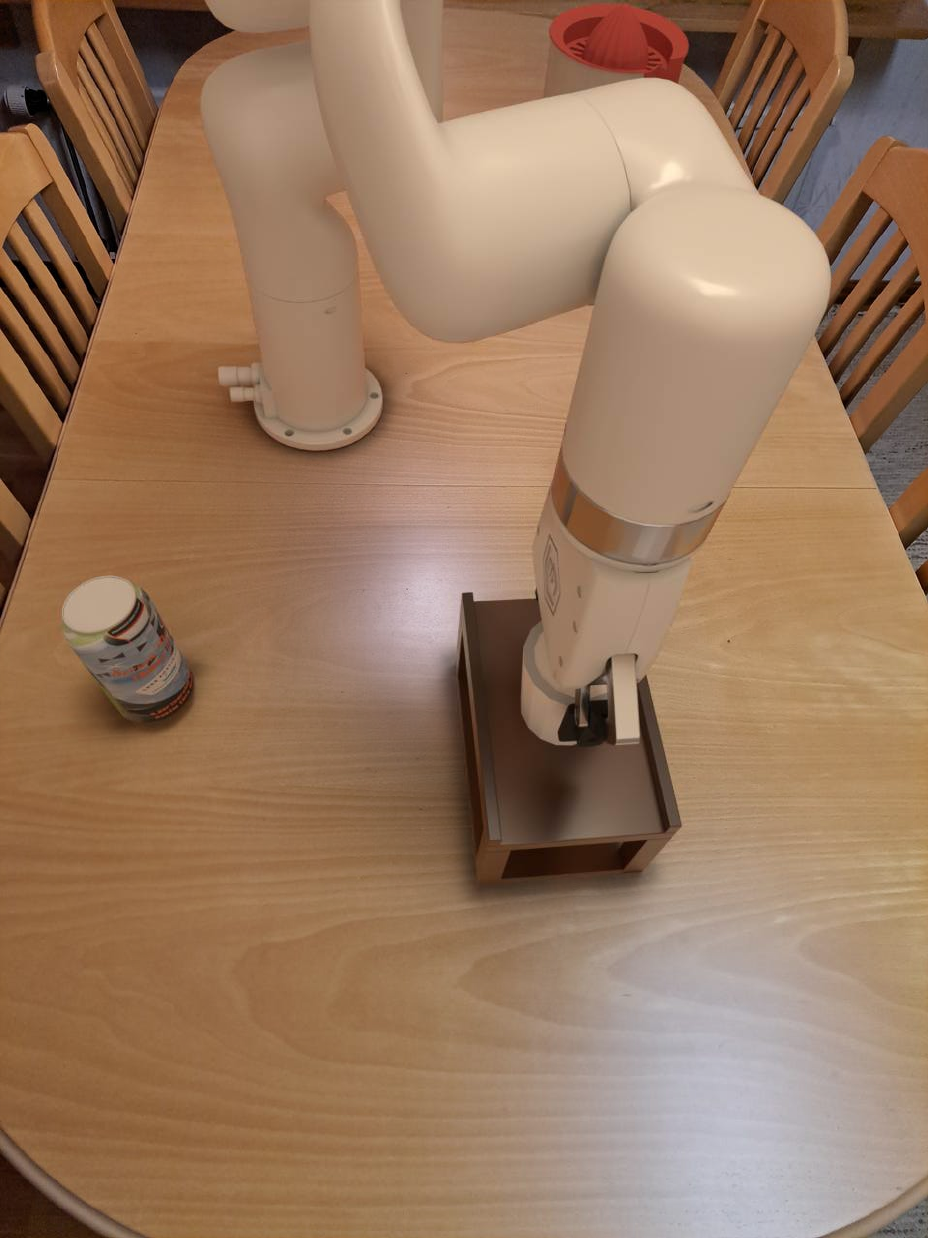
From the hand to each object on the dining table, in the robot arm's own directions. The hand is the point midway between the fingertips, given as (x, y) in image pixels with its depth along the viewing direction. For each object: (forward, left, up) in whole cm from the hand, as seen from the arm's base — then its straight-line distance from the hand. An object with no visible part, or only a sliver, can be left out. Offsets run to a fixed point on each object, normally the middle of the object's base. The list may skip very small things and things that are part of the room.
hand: (570, 663), depth 51 cm
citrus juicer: (+18, +77, -15) cm, 80 cm away
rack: (0, 0, -15) cm, 15 cm away
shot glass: (0, 0, -6) cm, 6 cm away
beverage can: (-30, +8, -15) cm, 34 cm away
